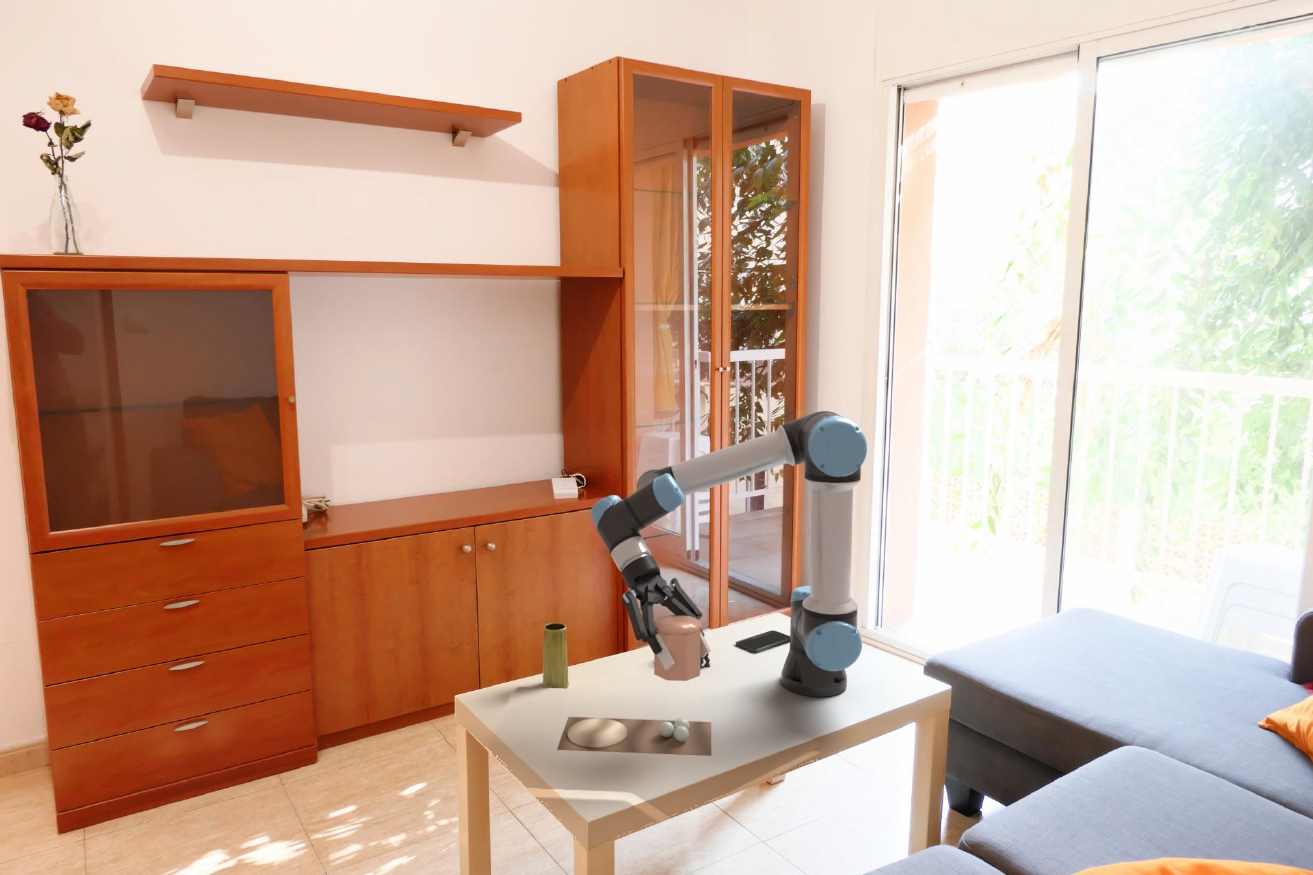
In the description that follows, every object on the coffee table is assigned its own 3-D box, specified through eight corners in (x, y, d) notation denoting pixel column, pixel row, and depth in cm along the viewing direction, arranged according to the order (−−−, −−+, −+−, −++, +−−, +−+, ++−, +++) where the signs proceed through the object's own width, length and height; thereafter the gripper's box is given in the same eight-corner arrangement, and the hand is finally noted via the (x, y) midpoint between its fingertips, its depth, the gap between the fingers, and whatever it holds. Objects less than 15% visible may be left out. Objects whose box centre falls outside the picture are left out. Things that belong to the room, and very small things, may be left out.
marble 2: (689, 729, 178) (689, 715, 178) (688, 736, 175) (689, 722, 175) (674, 728, 179) (674, 715, 178) (674, 735, 176) (674, 721, 175)
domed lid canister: (678, 658, 180) (678, 611, 178) (710, 672, 173) (710, 623, 172) (644, 670, 174) (644, 622, 172) (676, 684, 167) (676, 634, 166)
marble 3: (688, 737, 175) (689, 723, 174) (688, 744, 172) (688, 730, 172) (673, 737, 175) (674, 722, 175) (673, 744, 172) (673, 729, 172)
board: (711, 727, 182) (711, 721, 182) (711, 761, 168) (711, 755, 168) (568, 722, 184) (568, 716, 184) (557, 755, 170) (557, 749, 170)
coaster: (629, 721, 182) (629, 719, 182) (624, 749, 170) (624, 747, 170) (572, 718, 183) (572, 717, 182) (562, 746, 171) (563, 744, 171)
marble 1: (674, 732, 177) (674, 719, 176) (673, 740, 174) (673, 725, 173) (659, 732, 177) (659, 718, 177) (658, 739, 174) (658, 725, 174)
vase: (547, 693, 198) (547, 632, 196) (538, 682, 203) (537, 624, 201) (572, 687, 201) (572, 628, 199) (562, 678, 206) (562, 620, 204)
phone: (794, 638, 231) (755, 651, 222) (794, 642, 231) (755, 655, 222) (772, 629, 237) (733, 642, 228) (772, 633, 237) (733, 646, 228)
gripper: (666, 563, 190) (717, 655, 180) (586, 583, 175) (637, 684, 166) (683, 545, 185) (737, 637, 175) (602, 563, 171) (656, 665, 161)
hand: (688, 660), depth 171 cm, fingers closed on domed lid canister, 9 cm apart
